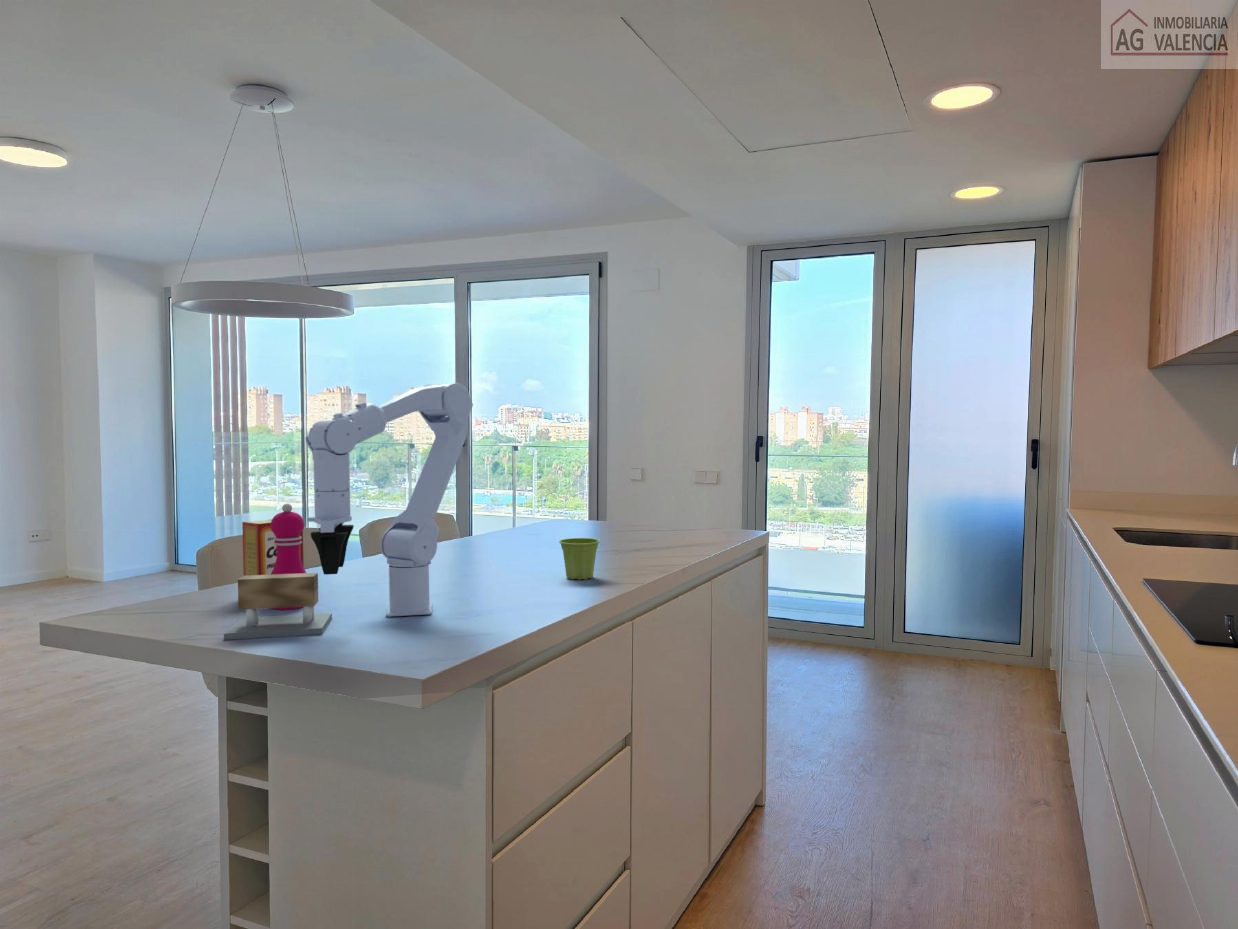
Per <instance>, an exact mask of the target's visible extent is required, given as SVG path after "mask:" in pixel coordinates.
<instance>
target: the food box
mask: <svg viewBox="0 0 1238 929" xmlns="http://www.w3.org/2000/svg"><path fill="white" fill-rule="evenodd" d="M272 519H273V518H269V519H262V520H250V521H242V522H241V523H242V524H241V526H242V561H243V562H242V566H243V570H242V573H243V576H249V575H271V573H272V570H273V568H274V566H275V563H276V558H277V549H276V545H274V543H275V542H274V541H275V540H274V538H275V537H276V536H275V534H274V533H273V532H272V530H271V521H272ZM300 536H301V537H302V538H301V541H302V543H301V544H300V548H299V553H300V559H301V563H302V565H303V567H304V530H303V531H302V532H301V533H300Z"/></svg>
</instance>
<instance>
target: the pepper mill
mask: <svg viewBox="0 0 1238 929" xmlns="http://www.w3.org/2000/svg"><path fill="white" fill-rule="evenodd" d="M281 508H282V511H281V512H278V513H277V514H275V515H274V516H272V518H271V519H272V521H271V530H272V532H273V533H274V534H275V536H276V537H275V538H274V540H275V541H274V542H275V543H274V545H276V549H277V558H276V563H275V566H274V568H273V570H272V573H271V575H274V574H299V573H307V571H306V569H305V568H304V567H303V566H304V564H303V565H302V563H301V559H300V553H299V548H300V544H301V543H302V541H301V538H302V537H301V536H300V533H301V532H302V531H303V532H304V529H305V521H304V518H303V517H302V515H301V514H299V513H298V512H295V511H292V510H293V506H292V505H291V503H285V504H283V505H282V507H281ZM300 608H302V609H303V606H301V607H280V608H272V609H273V610H278V611H279V610H280V611H287V610H297V609H300Z"/></svg>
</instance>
